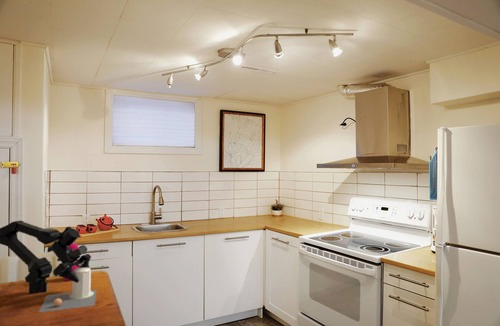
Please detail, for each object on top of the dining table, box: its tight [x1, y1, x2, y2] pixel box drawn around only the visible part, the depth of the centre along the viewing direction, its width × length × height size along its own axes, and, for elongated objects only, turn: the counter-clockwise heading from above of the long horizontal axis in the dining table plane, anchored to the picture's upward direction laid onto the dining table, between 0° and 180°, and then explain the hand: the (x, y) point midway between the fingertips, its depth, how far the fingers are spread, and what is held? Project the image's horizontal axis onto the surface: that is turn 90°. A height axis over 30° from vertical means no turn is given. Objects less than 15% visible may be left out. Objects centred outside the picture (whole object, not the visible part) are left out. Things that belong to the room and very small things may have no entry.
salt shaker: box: [71, 267, 92, 297], centre depth 152 cm, size 7×7×11 cm
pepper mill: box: [64, 242, 79, 282], centre depth 177 cm, size 7×7×20 cm
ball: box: [54, 298, 62, 306], centre depth 139 cm, size 3×3×3 cm
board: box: [37, 289, 98, 313], centre depth 146 cm, size 20×20×1 cm
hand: (84, 278), depth 152 cm, fingers open, 8 cm apart
